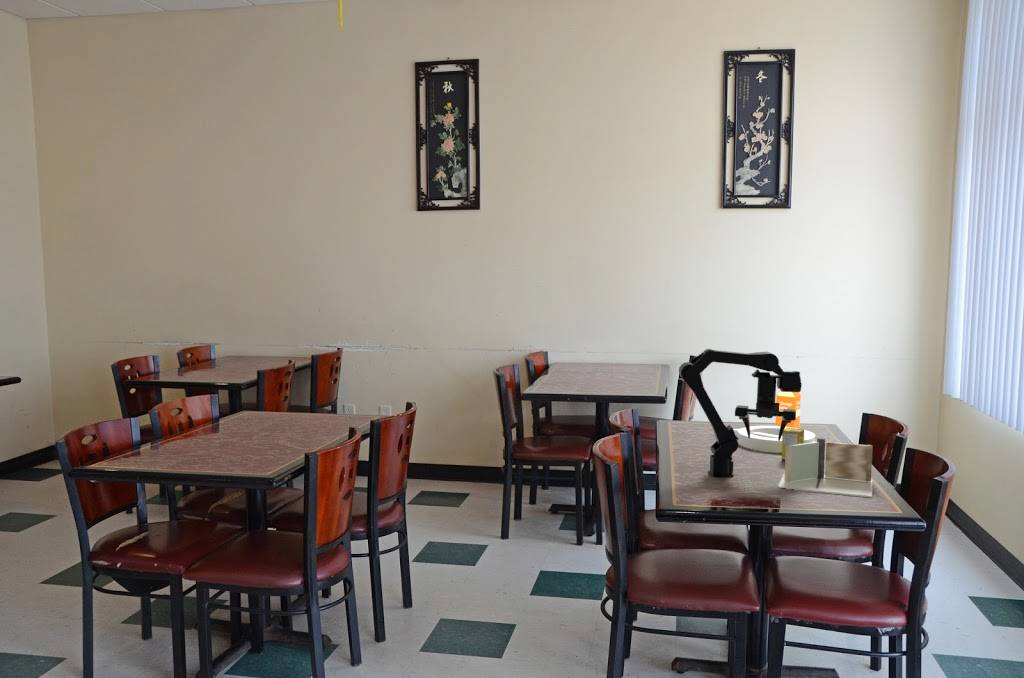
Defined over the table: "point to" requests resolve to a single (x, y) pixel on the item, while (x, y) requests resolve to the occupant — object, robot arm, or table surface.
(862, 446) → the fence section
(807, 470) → the pale green flat panel
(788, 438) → the supplement box
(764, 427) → the ring with crossbar
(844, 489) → the board
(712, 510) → the table surface
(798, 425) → the orange juice
